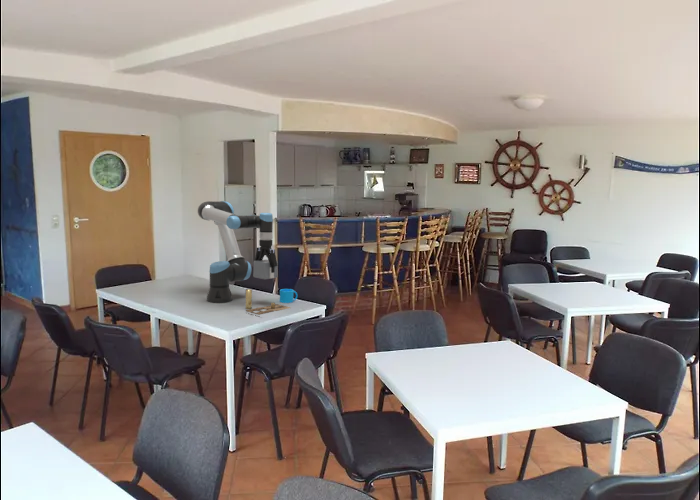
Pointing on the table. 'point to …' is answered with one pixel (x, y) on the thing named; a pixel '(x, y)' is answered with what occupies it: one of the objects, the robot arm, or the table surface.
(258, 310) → the build board
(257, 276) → the block
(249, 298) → the peg
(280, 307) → the board
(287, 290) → the mug
